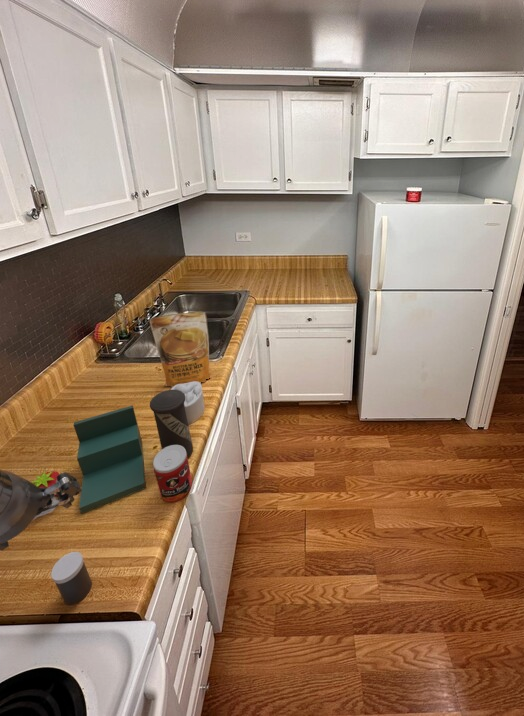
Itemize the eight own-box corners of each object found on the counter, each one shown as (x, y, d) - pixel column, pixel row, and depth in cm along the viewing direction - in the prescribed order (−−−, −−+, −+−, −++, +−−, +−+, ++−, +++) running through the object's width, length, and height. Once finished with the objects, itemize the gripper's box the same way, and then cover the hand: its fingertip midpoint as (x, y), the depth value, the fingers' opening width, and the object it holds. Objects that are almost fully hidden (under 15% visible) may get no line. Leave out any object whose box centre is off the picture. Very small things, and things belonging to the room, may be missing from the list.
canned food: (159, 508, 81) (151, 475, 77) (160, 480, 88) (153, 449, 83) (193, 497, 83) (186, 465, 79) (191, 471, 90) (185, 440, 86)
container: (176, 470, 91) (163, 412, 83) (155, 456, 95) (141, 400, 87) (200, 448, 97) (191, 393, 90) (180, 436, 102) (169, 382, 94)
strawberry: (72, 486, 86) (61, 457, 82) (59, 513, 79) (46, 484, 76) (46, 491, 85) (34, 462, 81) (30, 519, 78) (16, 489, 74)
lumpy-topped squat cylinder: (204, 396, 119) (201, 375, 116) (205, 420, 108) (201, 399, 105) (173, 402, 116) (169, 381, 113) (170, 428, 105) (166, 406, 102)
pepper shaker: (61, 611, 62) (48, 586, 59) (65, 585, 66) (53, 559, 63) (91, 596, 64) (80, 571, 61) (93, 571, 68) (83, 546, 65)
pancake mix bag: (163, 380, 128) (149, 314, 118) (214, 371, 133) (205, 308, 123) (160, 390, 122) (146, 322, 112) (214, 381, 127) (205, 315, 117)
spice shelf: (81, 513, 79) (64, 471, 74) (87, 461, 93) (73, 422, 88) (145, 488, 86) (134, 447, 80) (142, 442, 100) (132, 405, 94)
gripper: (48, 445, 47) (78, 470, 59) (-95, 522, 39) (-27, 533, 51) (67, 492, 45) (95, 509, 57) (-82, 585, 37) (-13, 582, 49)
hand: (37, 520), depth 54 cm, fingers open, 8 cm apart
